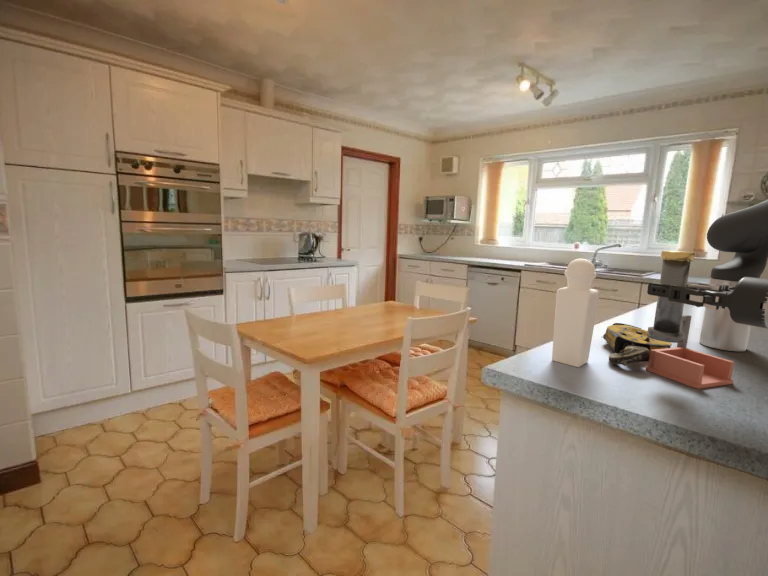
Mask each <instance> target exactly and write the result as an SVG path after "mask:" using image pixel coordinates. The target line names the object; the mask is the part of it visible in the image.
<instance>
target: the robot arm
mask: <svg viewBox="0 0 768 576" xmlns="http://www.w3.org/2000/svg"><path fill="white" fill-rule="evenodd" d="M706 240H707V243H708V244H709V246H710V247H711V248H713V249H714V250H716V251H719V252H724V253H735V254H734V256H733V257H732V259H731V260H729V261H727V262H726V263H723V264H719V265H716V266H713V268H712V269H711V271H710V277H709V283H706V282H704V283H702V282H701V283H695V284H694V283H690V282H689V283H687V286H677V285H666V284H660V283H658V282H650V283H648V286H647V290H646V293H647V294H648V295H649V296H655V297H658V296H660V297H667V298H668V300H669V301H672V302H673V301H674V302H679V303H683V304H684V305H689V306H693V307H696V308H702V307H704V313H703V319H702V325H701V328H700V336H699V344H700V345H703V346H705V347H707V348H708V347H709V348H713V349H716V350H717V349H718V350H722V351H727V352H728V351H729V352H747V351H746V350H747V349H748V345H749V339H750V335H751V330H752V327H758V328H762V329H768V278H764V277H763V278H762V277H761V276H762V274H763V273H764V271H765V269H766V267H767V263H768V199H766V200H764V201H761V202H759V203H757V204H754V205H751V206H748V207H746V208H743V209H740V210H736V211H733V212H729V213H727V214H724V215H721V216H720V217H718V218H717V219H716V220H714V221H712V223H711V225H710V226H709V228H708V229H707V232H706ZM679 291H680V292H681V293H680V297H678V292H679Z"/></svg>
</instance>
